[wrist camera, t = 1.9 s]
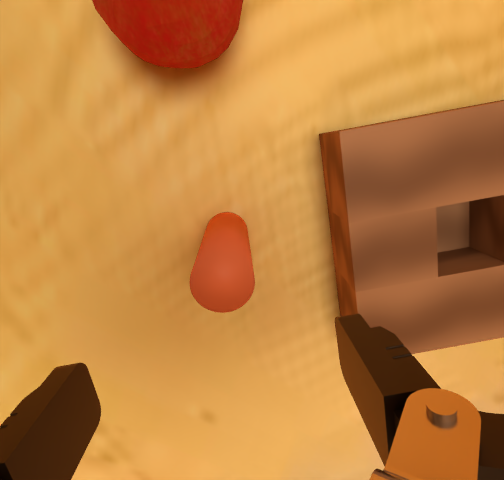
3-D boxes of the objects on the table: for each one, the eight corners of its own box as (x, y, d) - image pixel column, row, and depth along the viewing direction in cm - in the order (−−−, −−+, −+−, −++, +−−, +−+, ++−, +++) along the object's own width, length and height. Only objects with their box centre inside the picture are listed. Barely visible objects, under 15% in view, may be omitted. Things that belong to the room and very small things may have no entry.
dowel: (202, 216, 26) (183, 258, 16) (243, 208, 26) (248, 246, 16) (211, 255, 27) (197, 317, 17) (250, 248, 27) (259, 306, 17)
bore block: (319, 134, 25) (339, 131, 20) (536, 93, 25) (609, 81, 20) (341, 327, 29) (362, 362, 24) (526, 293, 29) (583, 322, 24)
